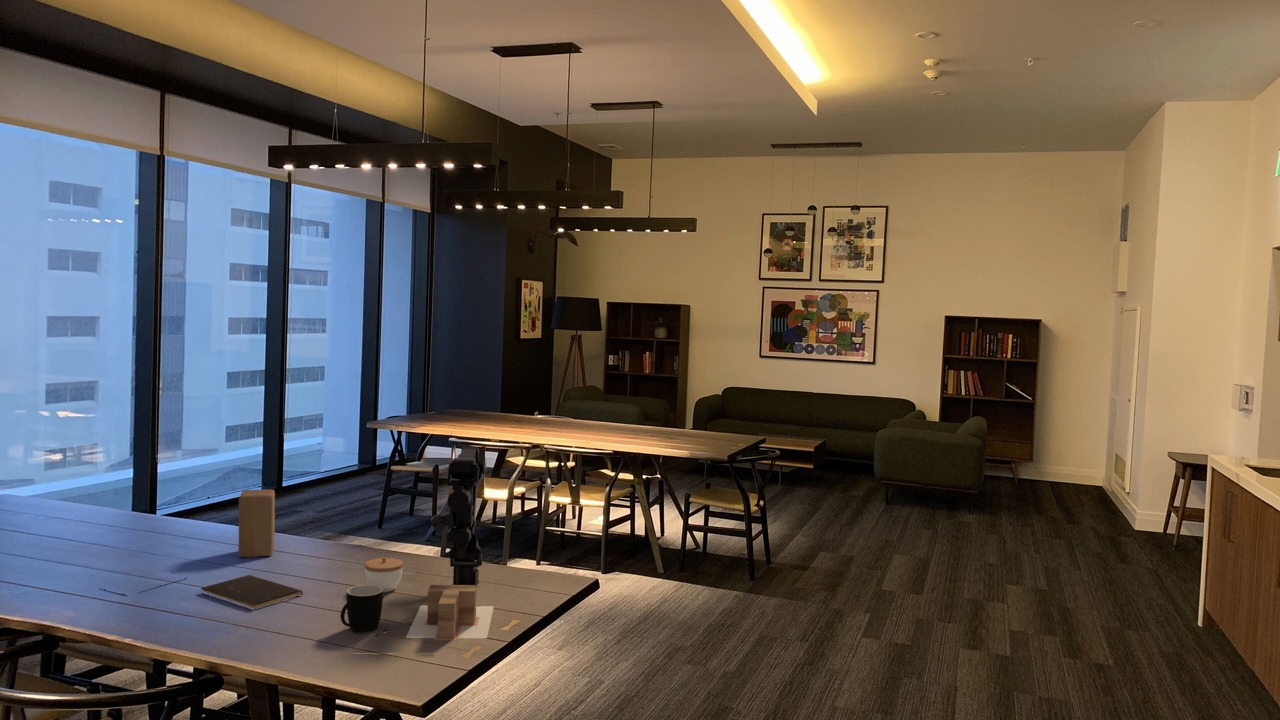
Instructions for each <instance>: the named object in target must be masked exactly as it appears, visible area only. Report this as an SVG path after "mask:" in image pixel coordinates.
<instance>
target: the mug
mask: <svg viewBox="0 0 1280 720" xmlns="http://www.w3.org/2000/svg"><path fill="white" fill-rule="evenodd" d="M345 595H346V597H345V598H346V599H345V601H346V603H344V605H343V607H342V609H341V611H340V621H341V623H342V624H343V626H346V627H349V628H350V630H351V631H352V632H353V633H356V634H364V633H369V632H373V631H375V630H377V629H378V627H379V624H380V621H381V617H382V609H383V602H384V599H383V598H384V592H383V589H382V588H381V587H380V586H376V585H368V584H361V585H360V584H359V585H355V586H351V587H349V588H348V589H346V594H345ZM346 613H347V621H348V622H346V619H345V616H346Z"/></svg>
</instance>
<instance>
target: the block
mask: <svg viewBox="0 0 1280 720" xmlns="http://www.w3.org/2000/svg"><path fill="white" fill-rule="evenodd" d="M275 495H276V493H275V489H245V490H242V491H241V494H240V495H239V498H238V556H239V558H241V557H247V558H258V557H257V556H269V557H272V555H273V552H274V550H275V549H274V548H275V530H276V529H275V527H276V526H275V525H276V524H275V519H276V518H275V513H276V511H275V509H276V507H275V506H276V503H275V502H276V499H275V498H276V496H275ZM254 556H255V557H254Z"/></svg>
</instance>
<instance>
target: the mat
mask: <svg viewBox="0 0 1280 720" xmlns="http://www.w3.org/2000/svg"><path fill="white" fill-rule="evenodd" d="M494 607H495V606H493V605H490V606H489V605H488V606H485V605H476V620H475V623H474V625H458V628H457V631H456V634H455V637H454V639H438V625H427V617H428V605H420V606H419V608H418V611H417V613H416V614H415V617H414V619H413V622H412V623H411V626H410V628H409V630H408V632H407V635H405V638H406V639H434V641H458V639H487V638H488V634H489V629H490V625H491V623H492V622H491V620H492V617H493V613H494Z"/></svg>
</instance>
